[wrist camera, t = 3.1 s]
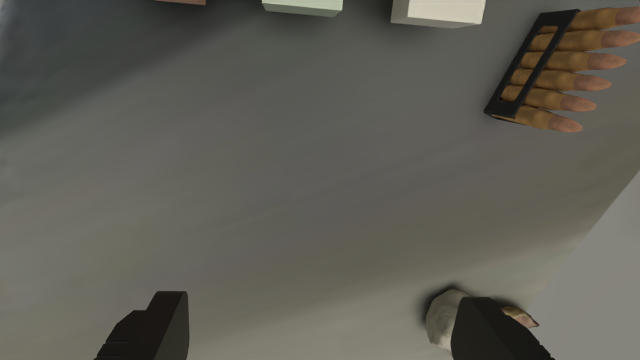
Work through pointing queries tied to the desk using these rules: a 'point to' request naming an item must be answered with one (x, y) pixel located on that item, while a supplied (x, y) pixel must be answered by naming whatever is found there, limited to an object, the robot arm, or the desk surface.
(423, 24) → the cream key
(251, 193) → the desk surface
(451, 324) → the ceramic sculpture
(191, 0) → the terracotta key
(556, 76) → the ammunition clip
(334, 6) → the sage key
